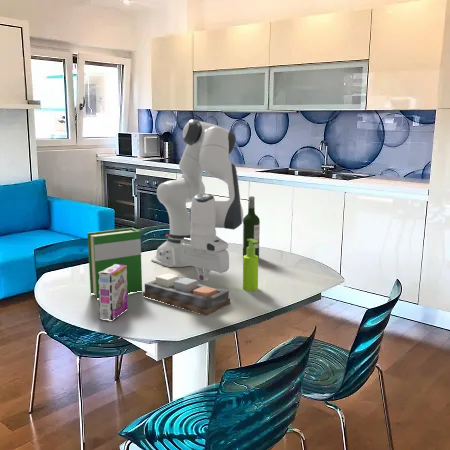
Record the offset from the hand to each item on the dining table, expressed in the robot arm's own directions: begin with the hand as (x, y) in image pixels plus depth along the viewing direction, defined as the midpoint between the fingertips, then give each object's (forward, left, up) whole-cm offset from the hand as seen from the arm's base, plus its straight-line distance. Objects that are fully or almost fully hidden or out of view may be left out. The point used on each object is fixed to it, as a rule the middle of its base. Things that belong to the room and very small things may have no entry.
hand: (203, 279), depth 171 cm
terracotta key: (+1, 0, -7) cm, 7 cm away
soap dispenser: (+4, +25, -10) cm, 27 cm away
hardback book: (-34, -10, -10) cm, 37 cm away
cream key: (-17, 0, -6) cm, 18 cm away
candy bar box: (-18, -25, -10) cm, 32 cm away
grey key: (-8, 0, -6) cm, 10 cm away
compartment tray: (-8, 0, -10) cm, 13 cm away
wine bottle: (-21, +63, -10) cm, 67 cm away
